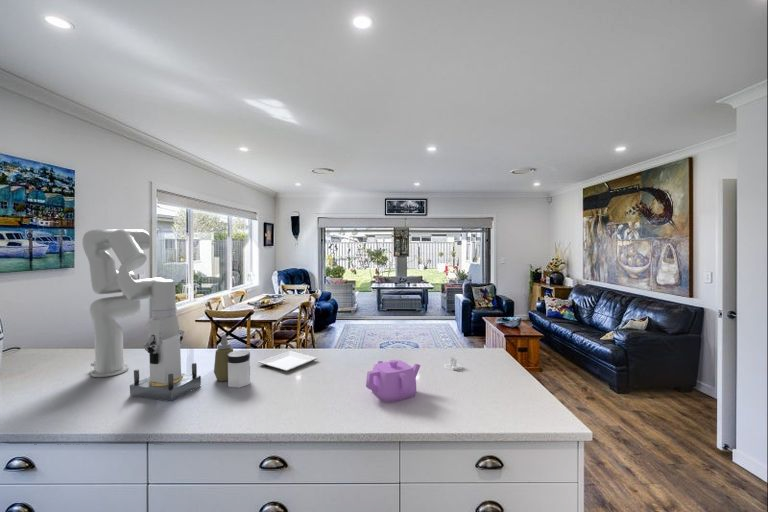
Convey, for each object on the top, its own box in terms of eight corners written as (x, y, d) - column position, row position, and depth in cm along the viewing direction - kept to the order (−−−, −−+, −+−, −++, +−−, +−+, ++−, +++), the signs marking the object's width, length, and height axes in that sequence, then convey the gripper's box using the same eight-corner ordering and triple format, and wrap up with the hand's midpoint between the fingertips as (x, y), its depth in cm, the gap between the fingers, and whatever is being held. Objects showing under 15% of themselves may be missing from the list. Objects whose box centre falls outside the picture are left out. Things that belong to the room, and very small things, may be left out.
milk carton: (181, 377, 139) (179, 327, 137) (164, 384, 132) (163, 332, 131) (166, 375, 141) (165, 326, 140) (150, 382, 134) (148, 330, 133)
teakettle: (363, 400, 129) (363, 366, 128) (378, 382, 145) (378, 351, 145) (411, 407, 124) (411, 371, 124) (420, 387, 141) (421, 355, 140)
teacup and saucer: (460, 372, 157) (461, 363, 157) (442, 370, 159) (442, 361, 159) (463, 365, 165) (463, 356, 165) (445, 363, 168) (445, 354, 167)
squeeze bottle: (227, 383, 143) (227, 338, 142) (209, 381, 145) (208, 336, 144) (239, 375, 151) (239, 332, 150) (222, 374, 153) (221, 331, 152)
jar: (250, 386, 141) (250, 355, 140) (227, 389, 138) (227, 358, 137) (250, 377, 149) (249, 348, 148) (228, 380, 146) (227, 351, 145)
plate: (317, 361, 169) (317, 357, 169) (286, 374, 153) (286, 370, 153) (289, 354, 179) (289, 350, 179) (257, 365, 163) (257, 361, 163)
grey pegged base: (130, 395, 132) (129, 371, 131) (162, 380, 146) (161, 358, 145) (171, 401, 128) (170, 376, 127) (200, 385, 141) (200, 362, 141)
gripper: (174, 308, 144) (175, 351, 145) (134, 318, 127) (136, 366, 128) (190, 309, 142) (191, 352, 143) (152, 319, 126) (153, 368, 127)
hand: (165, 359), depth 136 cm, fingers open, 9 cm apart
